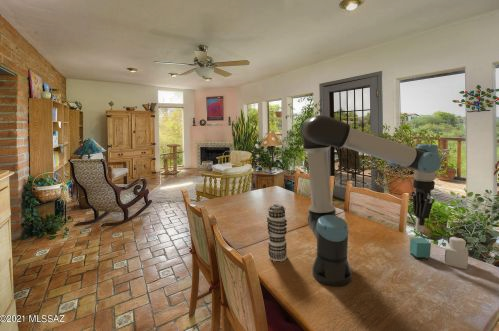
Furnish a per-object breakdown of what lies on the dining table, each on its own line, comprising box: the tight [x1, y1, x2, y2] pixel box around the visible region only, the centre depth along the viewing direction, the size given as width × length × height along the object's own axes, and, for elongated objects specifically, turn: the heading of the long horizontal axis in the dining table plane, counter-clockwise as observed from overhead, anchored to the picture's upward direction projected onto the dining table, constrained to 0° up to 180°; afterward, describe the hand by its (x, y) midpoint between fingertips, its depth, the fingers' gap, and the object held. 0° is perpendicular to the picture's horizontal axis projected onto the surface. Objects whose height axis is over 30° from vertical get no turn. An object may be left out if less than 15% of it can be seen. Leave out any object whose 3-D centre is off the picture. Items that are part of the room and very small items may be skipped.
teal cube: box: [409, 237, 432, 259], centre depth 110 cm, size 6×6×7 cm
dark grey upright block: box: [409, 252, 429, 261], centre depth 110 cm, size 5×5×7 cm
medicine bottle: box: [444, 234, 469, 270], centre depth 103 cm, size 7×7×12 cm
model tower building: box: [266, 203, 288, 262], centre depth 113 cm, size 9×9×25 cm
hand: (419, 231), depth 109 cm, fingers closed
